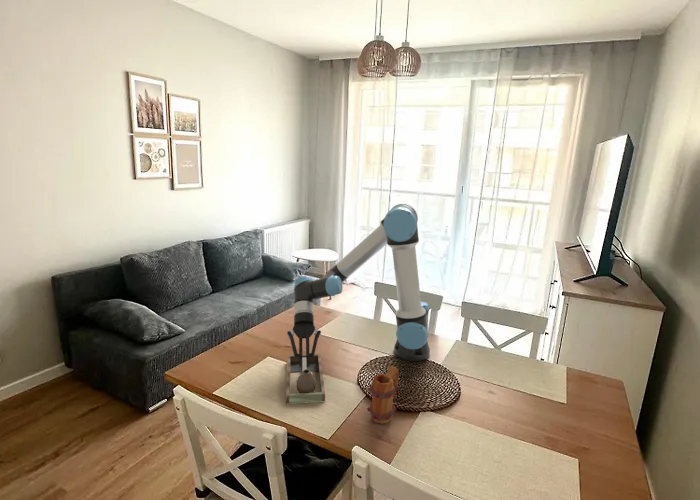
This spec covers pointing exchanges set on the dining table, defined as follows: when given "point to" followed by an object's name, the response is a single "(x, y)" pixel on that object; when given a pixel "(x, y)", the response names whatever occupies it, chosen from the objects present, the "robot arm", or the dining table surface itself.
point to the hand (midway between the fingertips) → (304, 376)
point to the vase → (306, 382)
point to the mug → (383, 395)
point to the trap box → (314, 365)
